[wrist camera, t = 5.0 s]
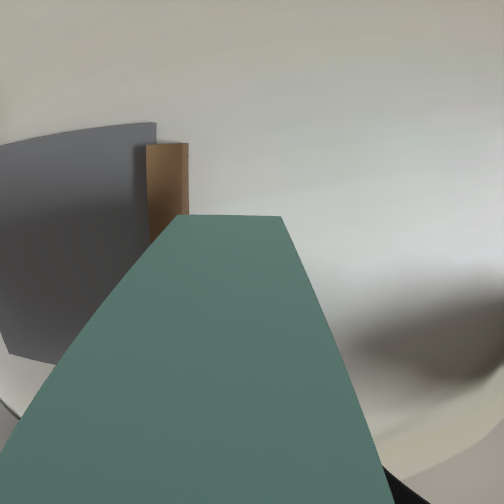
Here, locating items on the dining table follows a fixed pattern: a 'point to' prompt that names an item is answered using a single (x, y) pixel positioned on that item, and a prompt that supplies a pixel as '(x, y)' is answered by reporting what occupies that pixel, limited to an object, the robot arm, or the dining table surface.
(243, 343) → the slab
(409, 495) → the robot arm
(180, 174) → the wooden block
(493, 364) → the dining table surface
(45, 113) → the dining table surface
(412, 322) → the dining table surface
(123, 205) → the mat
